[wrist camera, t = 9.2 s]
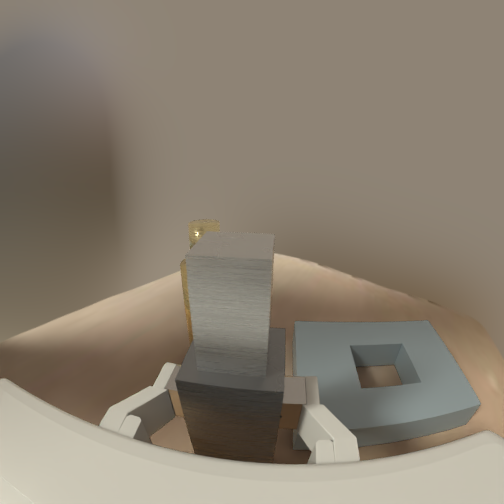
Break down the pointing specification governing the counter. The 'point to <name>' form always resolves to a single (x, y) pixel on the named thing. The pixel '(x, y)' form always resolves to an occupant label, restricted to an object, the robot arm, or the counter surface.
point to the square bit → (232, 349)
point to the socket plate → (391, 397)
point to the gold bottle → (195, 233)
